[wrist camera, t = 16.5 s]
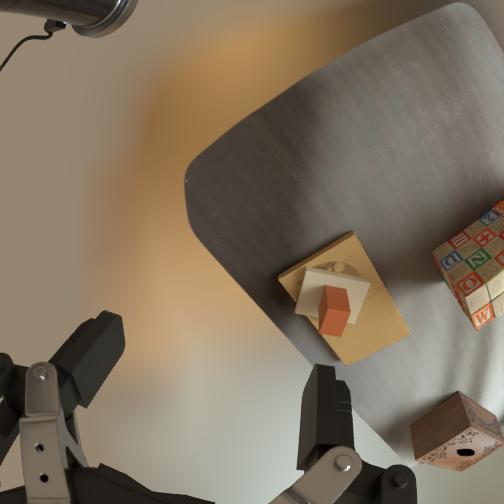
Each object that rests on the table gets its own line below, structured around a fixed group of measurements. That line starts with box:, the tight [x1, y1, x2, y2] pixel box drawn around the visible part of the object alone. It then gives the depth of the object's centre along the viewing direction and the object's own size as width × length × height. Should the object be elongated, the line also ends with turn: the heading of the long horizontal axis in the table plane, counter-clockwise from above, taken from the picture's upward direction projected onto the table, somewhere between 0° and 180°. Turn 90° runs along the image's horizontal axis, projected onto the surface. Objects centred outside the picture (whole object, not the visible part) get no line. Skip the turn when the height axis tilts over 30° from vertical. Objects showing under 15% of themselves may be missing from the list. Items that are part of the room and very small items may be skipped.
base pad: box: [278, 231, 410, 366], centre depth 42 cm, size 20×12×2 cm, turn 38°
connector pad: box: [295, 267, 370, 337], centre depth 39 cm, size 9×7×8 cm
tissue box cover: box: [409, 391, 504, 471], centre depth 48 cm, size 26×14×10 cm, turn 57°
